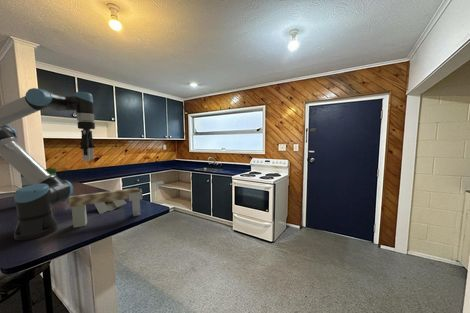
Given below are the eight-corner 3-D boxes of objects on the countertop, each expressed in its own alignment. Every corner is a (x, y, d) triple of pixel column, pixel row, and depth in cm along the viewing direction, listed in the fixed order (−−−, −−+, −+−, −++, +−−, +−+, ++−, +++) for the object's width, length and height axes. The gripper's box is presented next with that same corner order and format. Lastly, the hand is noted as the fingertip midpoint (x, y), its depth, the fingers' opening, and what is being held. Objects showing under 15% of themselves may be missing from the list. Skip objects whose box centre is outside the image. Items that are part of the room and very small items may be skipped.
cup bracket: (130, 217, 112) (128, 193, 110) (130, 213, 118) (128, 190, 117) (143, 215, 115) (142, 191, 114) (142, 211, 122) (141, 188, 120)
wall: (126, 209, 136) (117, 193, 141) (127, 203, 131) (118, 186, 136) (99, 221, 124) (90, 203, 129) (99, 214, 119) (90, 195, 124)
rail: (69, 207, 99) (68, 197, 99) (71, 205, 103) (70, 196, 102) (138, 197, 115) (138, 189, 114) (138, 195, 118) (137, 187, 117)
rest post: (73, 227, 100) (71, 207, 99) (75, 224, 105) (73, 204, 104) (85, 225, 103) (83, 205, 102) (87, 222, 107) (85, 202, 106)
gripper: (90, 120, 97) (93, 162, 99) (97, 123, 118) (100, 157, 120) (71, 119, 93) (74, 163, 95) (82, 123, 115) (85, 158, 117)
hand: (89, 160), depth 108 cm, fingers open, 13 cm apart
